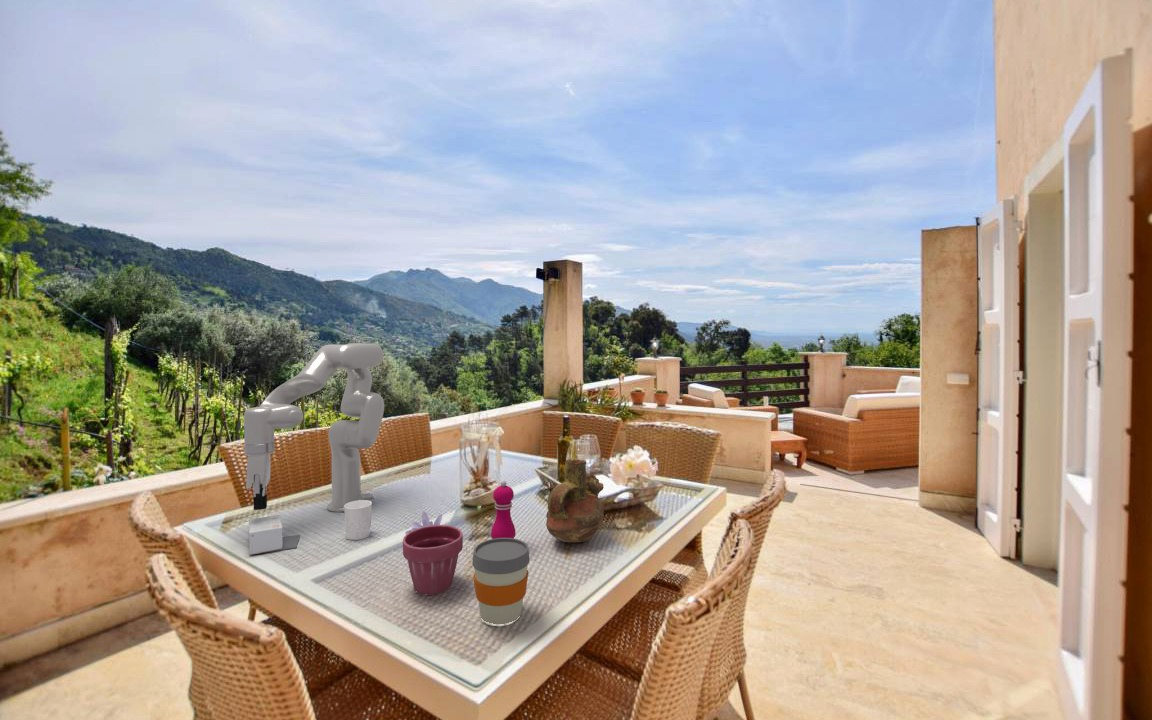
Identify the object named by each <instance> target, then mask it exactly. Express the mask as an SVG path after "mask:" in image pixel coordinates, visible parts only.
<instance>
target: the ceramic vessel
mask: <svg viewBox="0 0 1152 720" xmlns="http://www.w3.org/2000/svg"><path fill="white" fill-rule="evenodd" d="M603 490H604V484H603V482H600V480H599V478H597V477H596V475H595V474H593V473H587V461H586V460H585V459H576V458H574V459H566V460H565V464H564V480H563V482H562V483H559V484H557V485H555V487H553V489H552V490H551V491H550V493H549V495H548V496H547V497H548V499H547V512H546V515H545V517H546V523H545V526H546V530H547V532H548V533H549V534H550V535H551V536H552V537H554V538H555V539H557V540H559V541H562V542H564V543H584V542H588V541H589V540H590V539H591V538H592V537H593V536H594V535H595V534H597V532H598V531H599V529H600V527H601V525H602V523H603V519H604V513H605V512H604V511H605V509H604V507H603V505H602V503H601V501H600V500H599V494H600V493H601V492H602V491H603Z"/></svg>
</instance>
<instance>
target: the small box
mask: <svg viewBox="0 0 1152 720" xmlns="http://www.w3.org/2000/svg"><path fill="white" fill-rule="evenodd" d="M283 530H284V528H283V523H282V518H281V514H276V515H270V516H263V517H256V518H251V519H248V547H249V550H248V551H249V555H250V556H251V555H252V554H254V555H258V554H257V553H261V554H263V553H262V552H268V551H273V550H278V549H282V545H283V537H284V534H283ZM268 553H269V552H268Z"/></svg>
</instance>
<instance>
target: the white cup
mask: <svg viewBox="0 0 1152 720" xmlns="http://www.w3.org/2000/svg"><path fill="white" fill-rule="evenodd" d="M372 510H373V502H372V501H371V500H359V501H353V502H349V503H347V504H345V505H344V524H345V537H346V539H348V540H349V541H358V540H362V539H366V538H369V536H370V535H371V526H372V516H373V515H372V513H373V512H372Z"/></svg>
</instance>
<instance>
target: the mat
mask: <svg viewBox="0 0 1152 720" xmlns="http://www.w3.org/2000/svg"><path fill="white" fill-rule="evenodd" d="M300 537H301V534H294V535H287V536H283V545H282V549H278V550H273V551H268V552H262V553H257V554H256V555H258V554H267V553H272V552H280V551H288V550H295V549H297V547H298V544H299V540H300ZM252 555H255V554H252Z"/></svg>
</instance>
